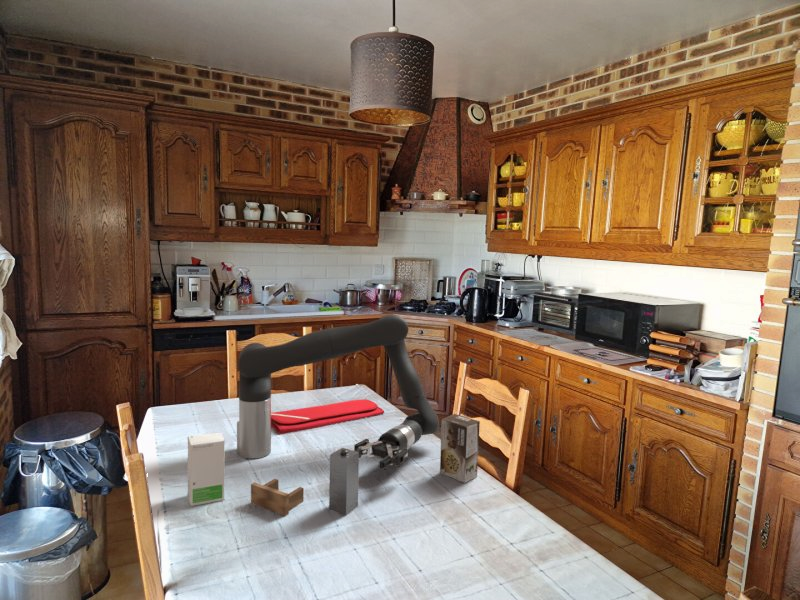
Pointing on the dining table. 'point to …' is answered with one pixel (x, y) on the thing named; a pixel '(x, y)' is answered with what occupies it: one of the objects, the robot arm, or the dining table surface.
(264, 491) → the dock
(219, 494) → the skincare box
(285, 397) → the dining table surface
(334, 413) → the dish drying mat
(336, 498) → the brushed steel pillar
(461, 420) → the coffee box
